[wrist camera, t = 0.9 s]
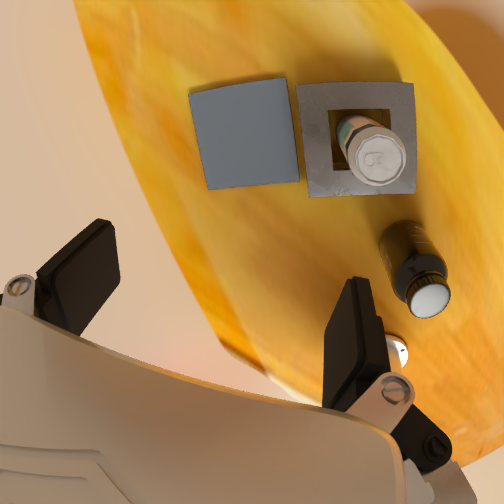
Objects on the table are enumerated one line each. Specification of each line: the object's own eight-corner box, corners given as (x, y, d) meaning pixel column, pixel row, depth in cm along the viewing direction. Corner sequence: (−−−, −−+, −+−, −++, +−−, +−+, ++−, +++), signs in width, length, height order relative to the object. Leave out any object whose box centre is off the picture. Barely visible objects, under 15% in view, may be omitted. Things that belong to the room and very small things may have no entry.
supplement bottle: (410, 270, 37) (433, 332, 27) (369, 254, 37) (385, 317, 27) (435, 229, 34) (470, 285, 24) (393, 209, 34) (423, 264, 24)
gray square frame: (406, 183, 31) (415, 193, 29) (308, 187, 34) (308, 197, 31) (403, 83, 26) (413, 83, 23) (296, 85, 28) (295, 85, 25)
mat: (299, 179, 34) (299, 181, 33) (210, 188, 37) (208, 190, 36) (285, 77, 28) (285, 77, 27) (190, 94, 31) (188, 94, 30)
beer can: (379, 152, 30) (411, 187, 20) (338, 156, 32) (353, 193, 22) (374, 111, 28) (406, 126, 18) (332, 115, 29) (344, 131, 19)
